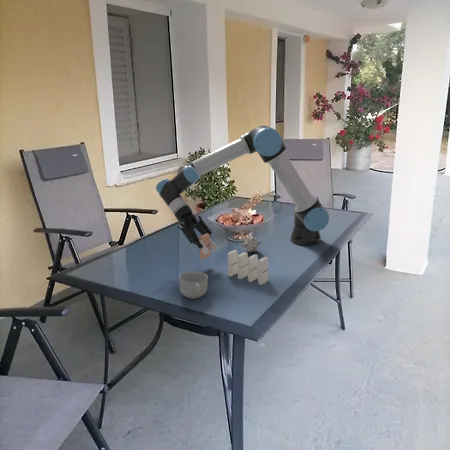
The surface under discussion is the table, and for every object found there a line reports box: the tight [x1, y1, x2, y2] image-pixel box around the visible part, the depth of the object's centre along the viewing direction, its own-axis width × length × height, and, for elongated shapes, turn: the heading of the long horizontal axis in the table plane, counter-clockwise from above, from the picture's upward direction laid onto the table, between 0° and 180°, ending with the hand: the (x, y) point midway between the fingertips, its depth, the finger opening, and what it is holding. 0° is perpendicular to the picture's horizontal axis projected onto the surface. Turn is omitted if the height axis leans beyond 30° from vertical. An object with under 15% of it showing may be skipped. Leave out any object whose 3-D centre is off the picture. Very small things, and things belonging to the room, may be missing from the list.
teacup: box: [178, 270, 209, 300], centre depth 164 cm, size 14×11×8 cm
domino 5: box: [257, 256, 269, 286], centre depth 174 cm, size 2×5×10 cm, turn 143°
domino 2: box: [227, 249, 239, 277], centre depth 183 cm, size 2×5×10 cm, turn 142°
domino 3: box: [237, 251, 249, 280], centre depth 180 cm, size 2×5×10 cm, turn 143°
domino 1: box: [198, 233, 211, 260], centre depth 190 cm, size 2×5×10 cm, turn 143°
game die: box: [240, 234, 262, 254], centre depth 207 cm, size 9×8×10 cm
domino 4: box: [247, 254, 259, 283], centre depth 177 cm, size 2×5×10 cm, turn 142°
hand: (211, 251), depth 189 cm, fingers closed on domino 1, 5 cm apart
